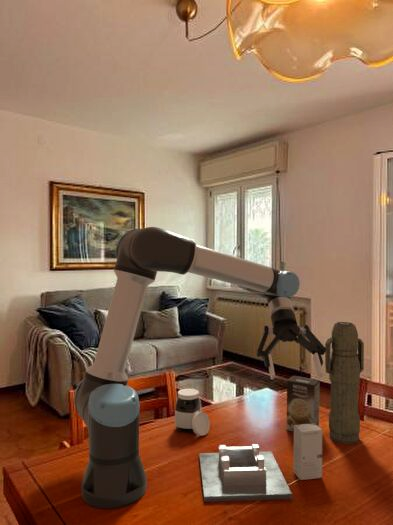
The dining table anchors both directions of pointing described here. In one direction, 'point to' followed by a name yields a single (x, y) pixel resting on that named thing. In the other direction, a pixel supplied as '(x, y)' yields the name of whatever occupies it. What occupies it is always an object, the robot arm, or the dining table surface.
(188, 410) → the spread jar
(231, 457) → the box holder fixture
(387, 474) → the dining table surface
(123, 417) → the robot arm
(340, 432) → the thermos
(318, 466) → the skincare box
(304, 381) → the coffee box
